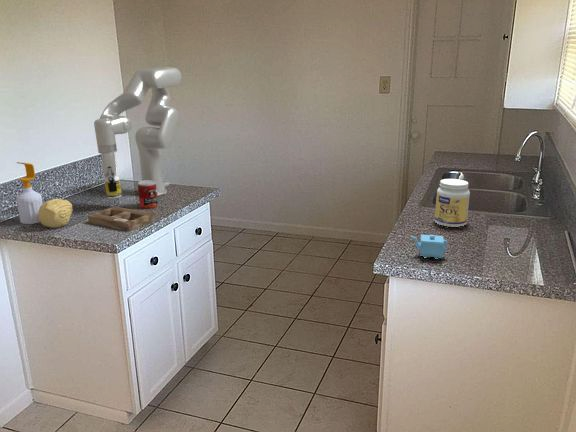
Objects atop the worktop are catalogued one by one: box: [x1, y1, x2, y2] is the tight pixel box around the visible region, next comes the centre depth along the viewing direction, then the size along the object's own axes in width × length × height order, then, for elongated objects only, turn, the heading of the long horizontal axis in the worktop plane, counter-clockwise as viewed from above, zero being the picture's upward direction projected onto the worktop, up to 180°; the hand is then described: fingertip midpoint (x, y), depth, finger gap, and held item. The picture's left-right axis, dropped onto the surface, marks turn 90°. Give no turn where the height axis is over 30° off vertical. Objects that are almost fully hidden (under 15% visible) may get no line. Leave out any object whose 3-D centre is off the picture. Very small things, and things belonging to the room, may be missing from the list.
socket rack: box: [87, 205, 155, 232], centre depth 212 cm, size 14×22×3 cm, turn 61°
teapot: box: [410, 234, 449, 259], centre depth 175 cm, size 12×6×8 cm, turn 77°
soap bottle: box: [16, 161, 44, 225], centre depth 211 cm, size 9×9×25 cm
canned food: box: [137, 180, 159, 210], centre depth 231 cm, size 8×8×11 cm
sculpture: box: [38, 198, 73, 229], centre depth 208 cm, size 12×12×11 cm
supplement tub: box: [434, 178, 471, 228], centre depth 204 cm, size 12×12×17 cm
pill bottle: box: [104, 171, 122, 200], centre depth 228 cm, size 6×6×11 cm
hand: (113, 188), depth 229 cm, fingers closed on pill bottle, 6 cm apart
